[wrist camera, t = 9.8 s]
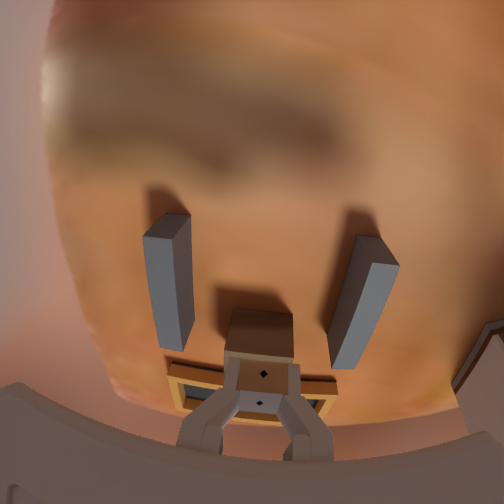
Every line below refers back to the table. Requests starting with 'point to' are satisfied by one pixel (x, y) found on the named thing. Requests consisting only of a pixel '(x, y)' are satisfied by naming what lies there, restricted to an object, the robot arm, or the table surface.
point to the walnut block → (260, 336)
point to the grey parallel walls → (345, 316)
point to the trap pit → (209, 380)
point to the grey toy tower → (483, 383)
